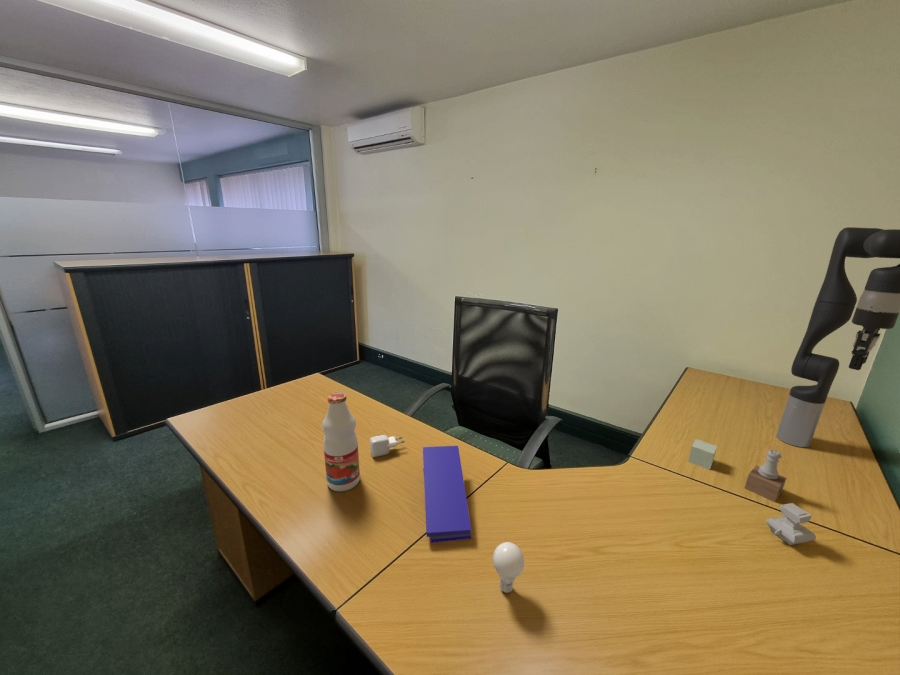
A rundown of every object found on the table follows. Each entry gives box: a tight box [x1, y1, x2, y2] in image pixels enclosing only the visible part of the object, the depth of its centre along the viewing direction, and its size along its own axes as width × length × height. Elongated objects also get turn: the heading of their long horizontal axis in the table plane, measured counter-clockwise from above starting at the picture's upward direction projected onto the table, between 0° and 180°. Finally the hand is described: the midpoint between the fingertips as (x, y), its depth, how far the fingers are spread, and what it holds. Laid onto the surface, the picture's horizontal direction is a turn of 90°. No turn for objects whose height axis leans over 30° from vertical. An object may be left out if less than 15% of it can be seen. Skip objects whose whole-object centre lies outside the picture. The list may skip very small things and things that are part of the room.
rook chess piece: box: [758, 448, 782, 480], centre depth 103 cm, size 4×4×8 cm
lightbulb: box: [492, 541, 525, 594], centre depth 74 cm, size 6×6×11 cm
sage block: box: [687, 438, 718, 471], centre depth 118 cm, size 6×6×6 cm
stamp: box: [765, 502, 817, 546], centre depth 88 cm, size 9×7×8 cm
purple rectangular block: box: [422, 445, 472, 544], centre depth 98 cm, size 12×28×10 cm, turn 8°
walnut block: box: [744, 464, 787, 503], centre depth 105 cm, size 7×7×5 cm
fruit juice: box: [321, 392, 361, 492], centre depth 102 cm, size 9×9×28 cm
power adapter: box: [369, 434, 405, 458], centre depth 120 cm, size 11×5×6 cm, turn 113°
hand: (856, 365), depth 99 cm, fingers open, 8 cm apart
